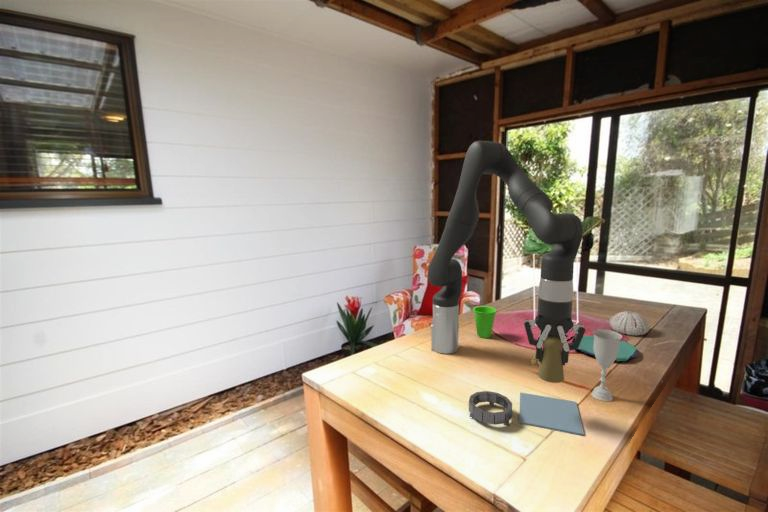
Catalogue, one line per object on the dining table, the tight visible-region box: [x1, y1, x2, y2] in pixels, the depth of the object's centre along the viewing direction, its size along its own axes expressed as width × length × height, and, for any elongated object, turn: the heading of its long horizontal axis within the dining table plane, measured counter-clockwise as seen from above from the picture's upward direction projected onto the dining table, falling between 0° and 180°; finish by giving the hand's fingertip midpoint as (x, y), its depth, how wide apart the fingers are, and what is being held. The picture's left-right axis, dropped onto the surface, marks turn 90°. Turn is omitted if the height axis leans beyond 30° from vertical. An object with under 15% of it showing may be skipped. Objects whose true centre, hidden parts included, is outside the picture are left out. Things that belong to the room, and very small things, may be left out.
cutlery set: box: [577, 335, 639, 362], centre depth 130 cm, size 20×30×2 cm, turn 43°
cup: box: [472, 305, 498, 339], centre depth 141 cm, size 9×9×11 cm
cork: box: [537, 337, 565, 384], centre depth 89 cm, size 6×6×11 cm
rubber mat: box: [518, 392, 585, 437], centre depth 91 cm, size 14×14×1 cm
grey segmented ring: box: [468, 390, 513, 427], centre depth 91 cm, size 10×10×4 cm
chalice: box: [590, 328, 623, 402], centre depth 97 cm, size 7×7×18 cm
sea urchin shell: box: [609, 310, 650, 337], centre depth 143 cm, size 13×14×8 cm
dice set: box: [530, 355, 540, 366], centre depth 118 cm, size 5×5×2 cm
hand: (551, 362), depth 89 cm, fingers closed on cork, 4 cm apart
